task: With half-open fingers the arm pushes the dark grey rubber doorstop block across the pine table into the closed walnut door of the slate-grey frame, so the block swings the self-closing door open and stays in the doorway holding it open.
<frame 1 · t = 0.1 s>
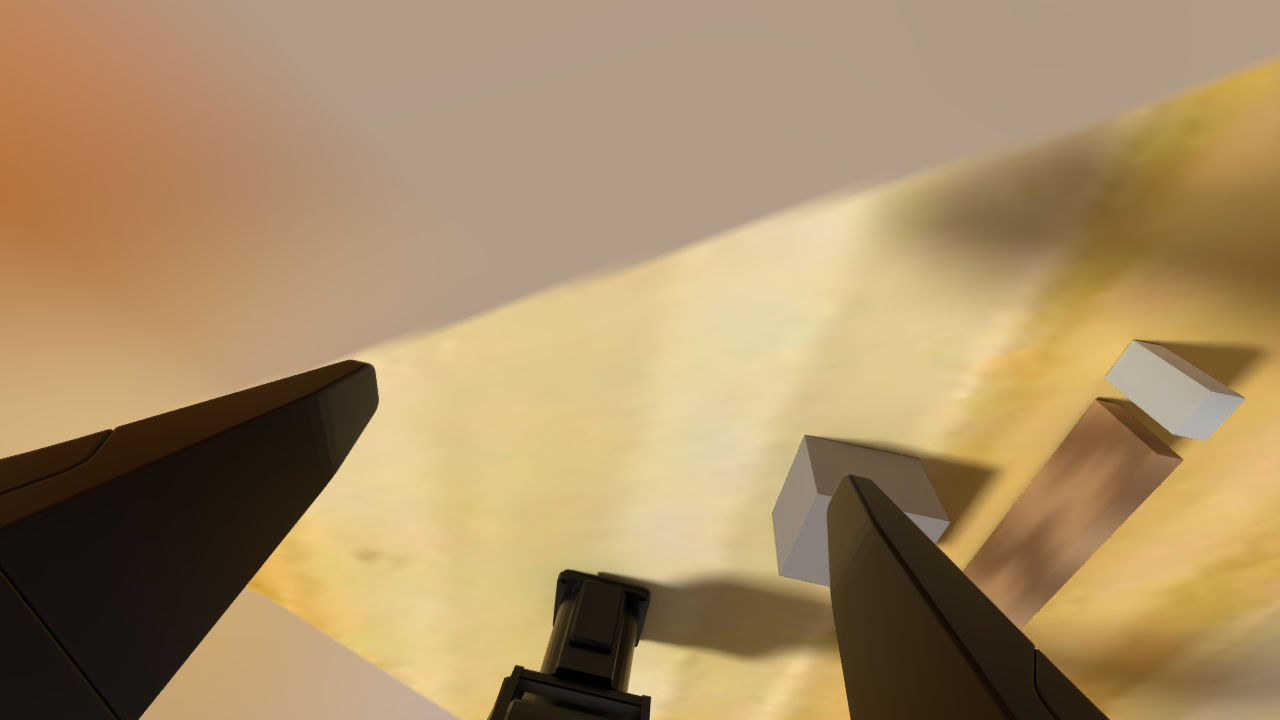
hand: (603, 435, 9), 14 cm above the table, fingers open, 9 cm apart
doorstop: (840, 485, 28), on the table
door: (1037, 557, 25), point 2 cm above the table, hinge at 0.0°
doorframe: (1006, 524, 27), on the table
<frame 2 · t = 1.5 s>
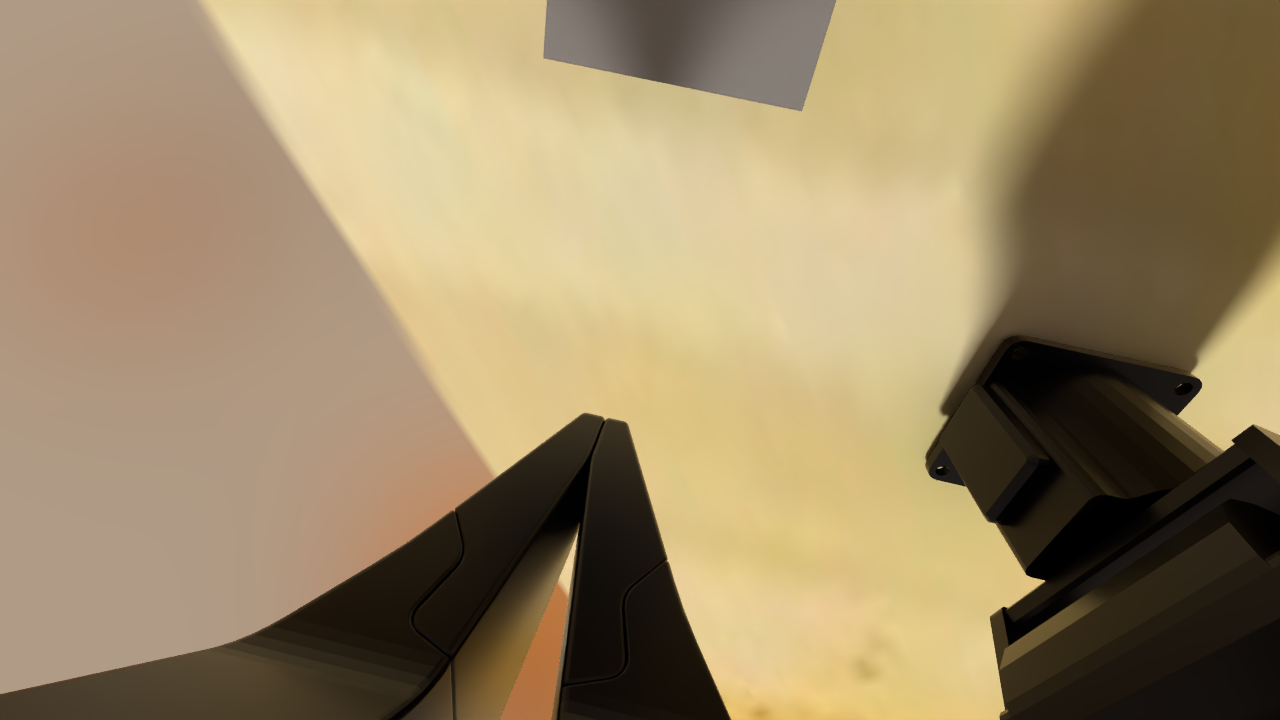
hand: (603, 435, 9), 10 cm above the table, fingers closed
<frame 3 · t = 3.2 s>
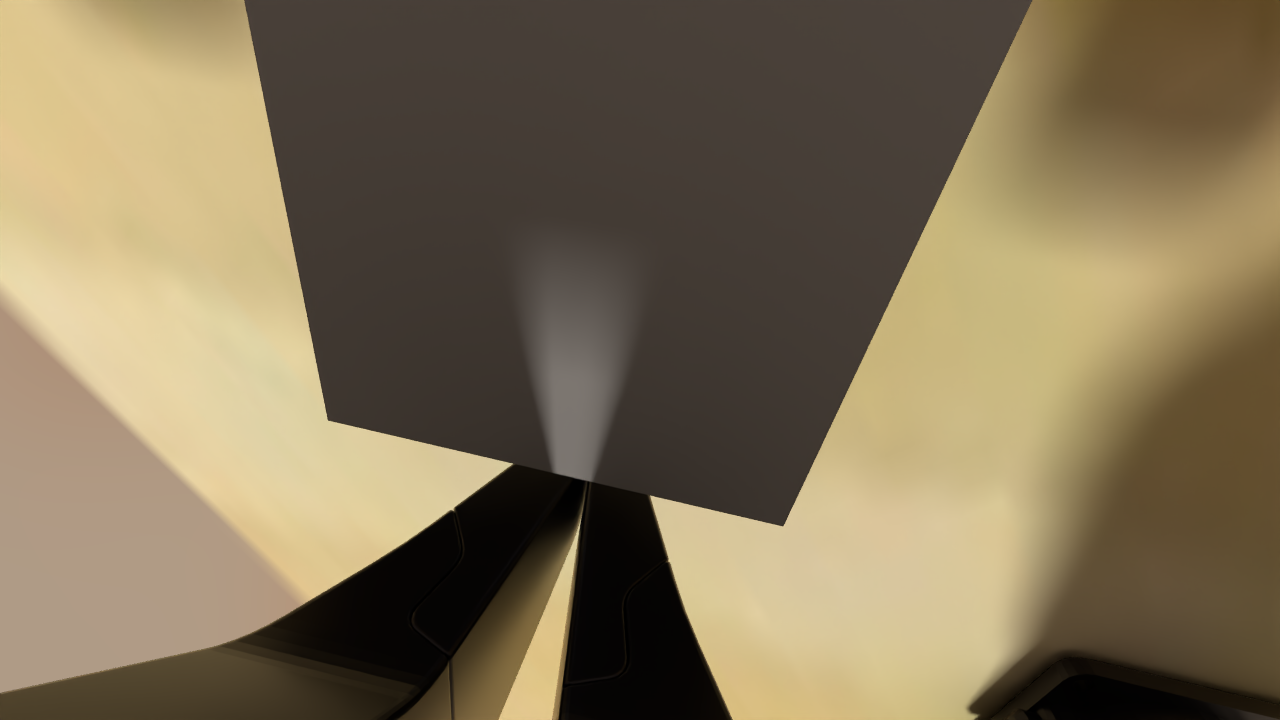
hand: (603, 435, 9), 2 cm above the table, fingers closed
doorstop: (640, 169, 9), on the table
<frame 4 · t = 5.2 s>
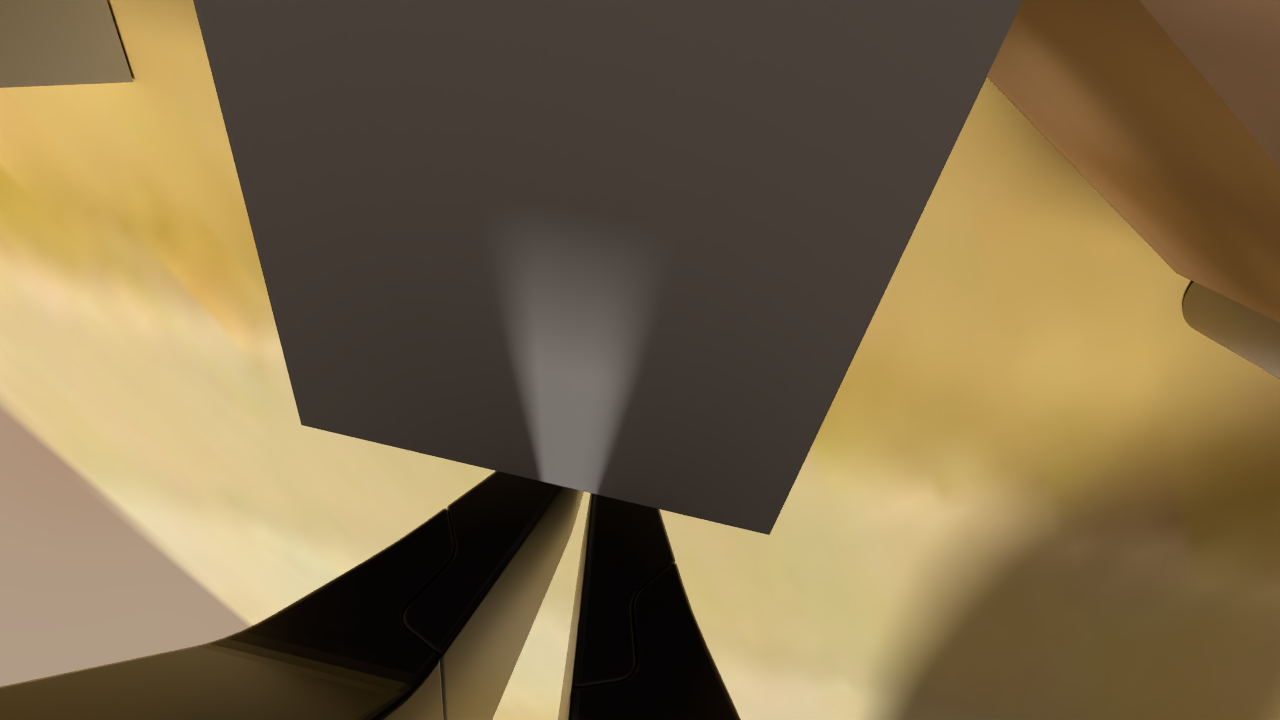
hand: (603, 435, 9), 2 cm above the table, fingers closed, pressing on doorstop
doorstop: (627, 163, 8), on the table, touching door, gripper
doorframe: (663, 162, 8), on the table
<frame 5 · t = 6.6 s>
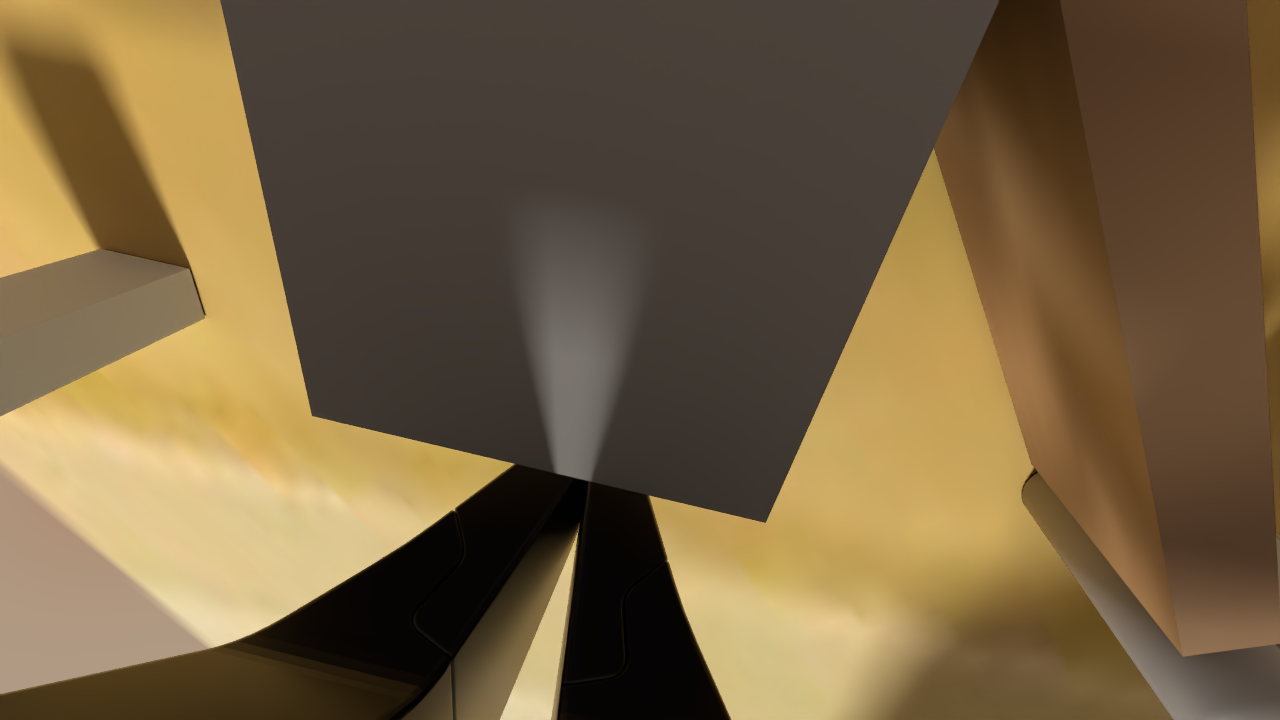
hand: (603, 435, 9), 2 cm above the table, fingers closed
doorstop: (628, 166, 9), on the table, touching gripper
doorframe: (618, 389, 11), on the table
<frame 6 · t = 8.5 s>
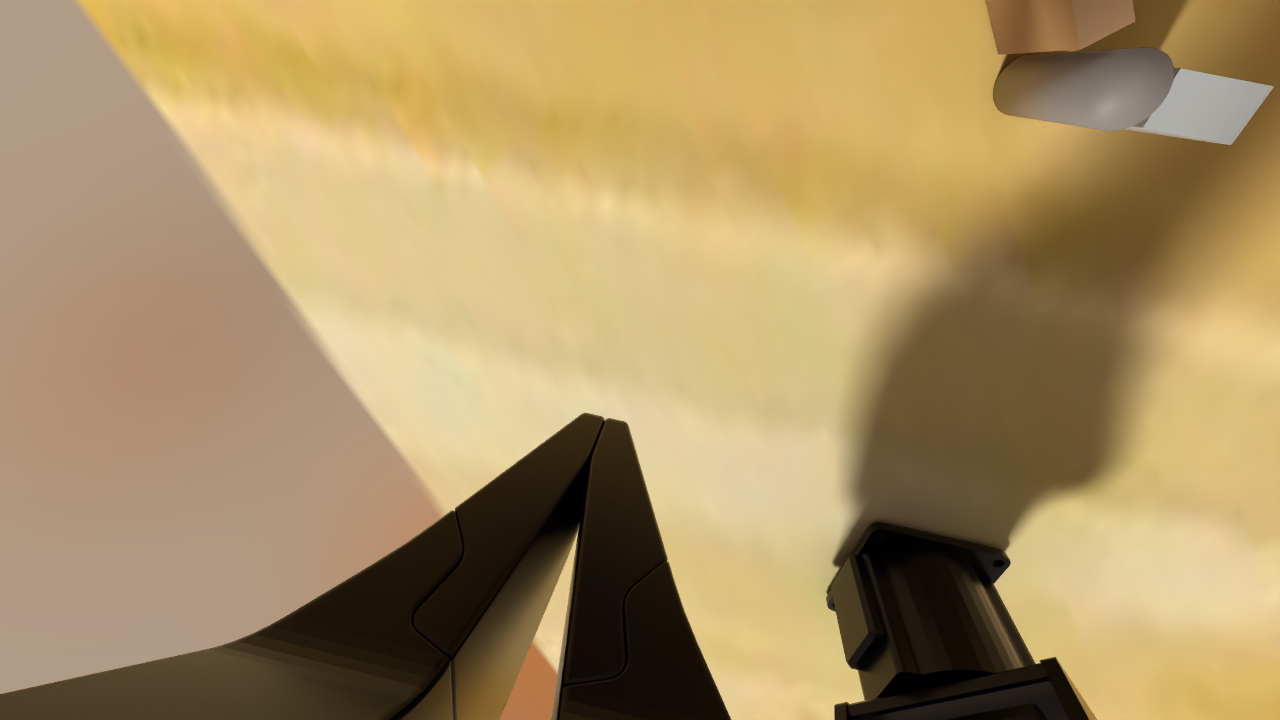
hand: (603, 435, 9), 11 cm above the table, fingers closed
doorframe: (706, 23, 15), on the table
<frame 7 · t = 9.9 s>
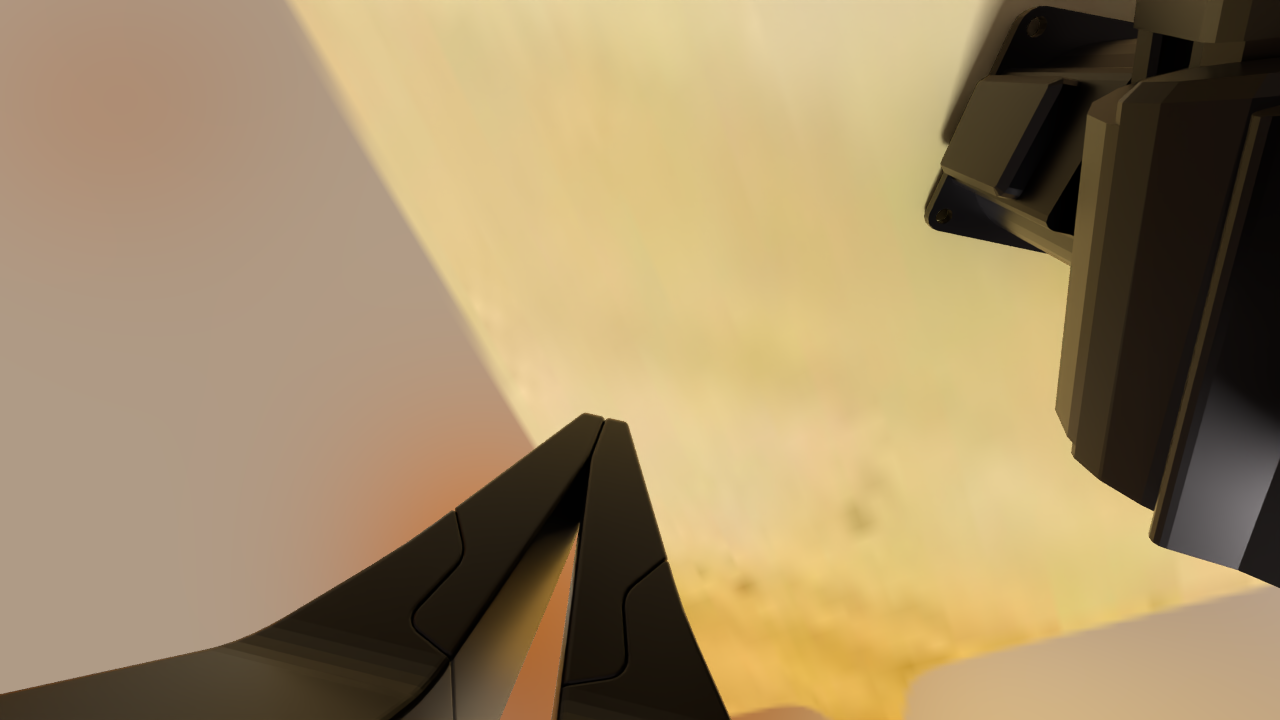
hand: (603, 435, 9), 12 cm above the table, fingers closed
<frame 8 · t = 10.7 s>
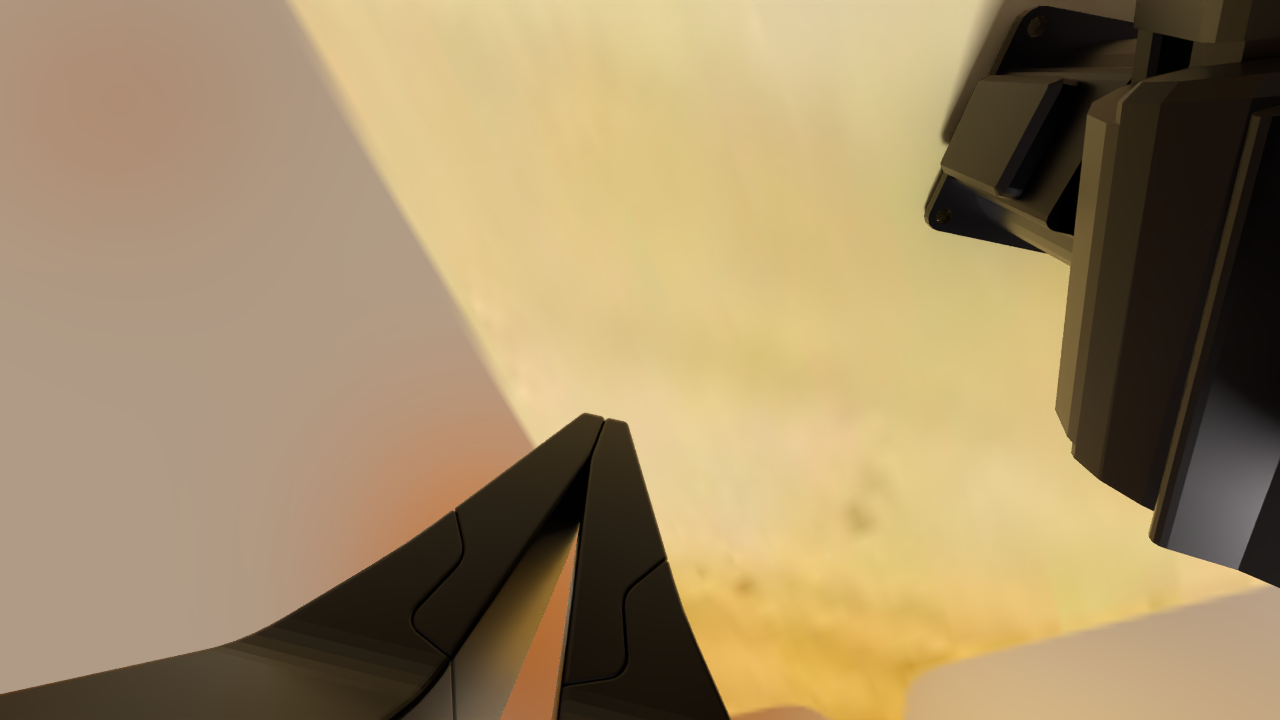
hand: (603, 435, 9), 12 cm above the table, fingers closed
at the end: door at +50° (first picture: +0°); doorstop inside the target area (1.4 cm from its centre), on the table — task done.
